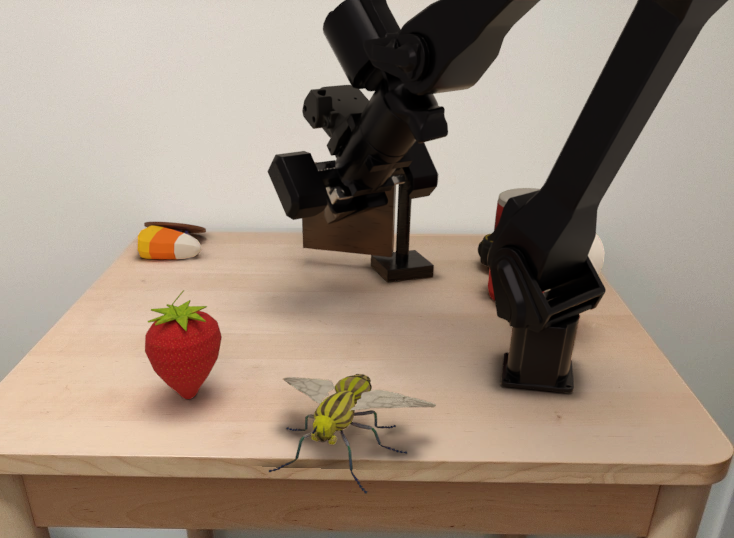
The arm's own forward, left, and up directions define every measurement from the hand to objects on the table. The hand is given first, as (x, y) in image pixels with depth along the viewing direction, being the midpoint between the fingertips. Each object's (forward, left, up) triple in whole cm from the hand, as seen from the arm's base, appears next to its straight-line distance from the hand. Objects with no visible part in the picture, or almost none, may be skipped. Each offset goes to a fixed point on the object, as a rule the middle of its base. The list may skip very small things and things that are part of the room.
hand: (328, 219), depth 87 cm
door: (+4, -1, -5) cm, 7 cm away
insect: (-37, -10, -7) cm, 39 cm away
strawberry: (-32, +5, -7) cm, 33 cm away
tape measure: (+9, -21, -7) cm, 24 cm away
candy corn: (+3, +26, -5) cm, 26 cm away
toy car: (+9, +23, -5) cm, 25 cm away
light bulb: (-10, -27, -7) cm, 30 cm away
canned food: (-1, -23, -7) cm, 24 cm away
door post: (+4, -8, -7) cm, 11 cm away
